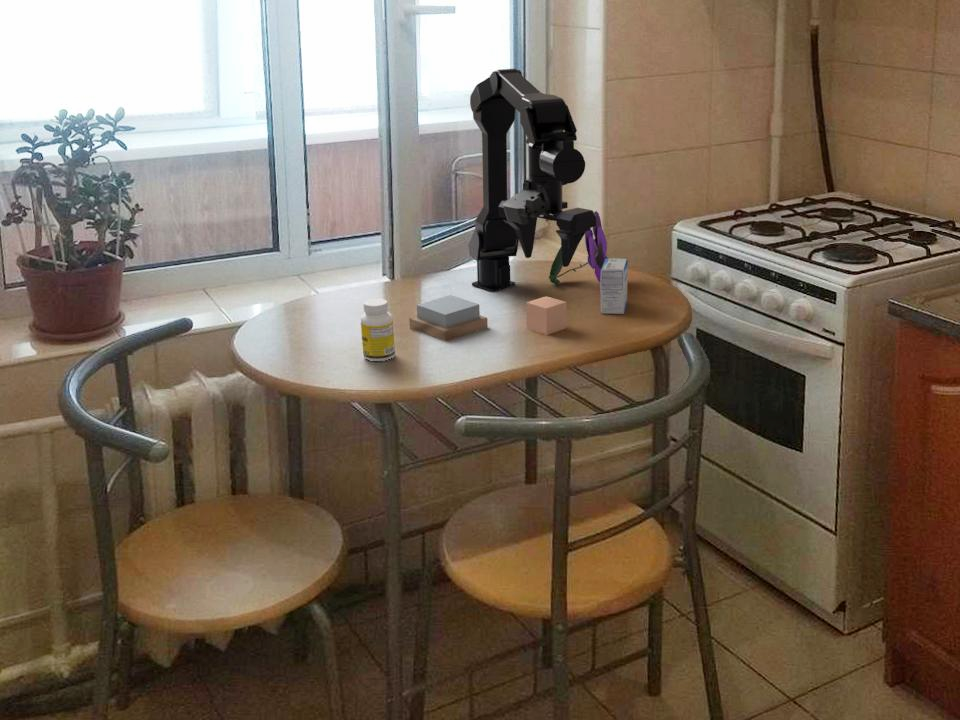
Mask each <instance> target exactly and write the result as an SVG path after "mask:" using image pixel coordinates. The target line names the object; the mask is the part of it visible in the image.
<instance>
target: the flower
mask: <svg viewBox="0 0 960 720" xmlns="http://www.w3.org/2000/svg"><path fill="white" fill-rule="evenodd" d="M593 212H594V213H595V214H596V226H595V227H592V228H591V229H590V230H589V231H586V232H585V234H584V239H585V240H584V241H585V242H584V243H585V246H586V247H585V249H586V252H587V255H588V256H587V262H585V263H583V264H581V263H579V266H578V267H574V268H569V269H568V270H566V271H565V272H563V273H561V274H560V272H561V271H562V268H563V264H562V251H561V247H560V248H559V250H558V252H557V254H556V255H555V257H554V260H553V262H552V264H551V266H550V272H549V275H548V280H549V281H550V283H551V284H554V285H557V286H558V285H559V284H560V283H561V281H560V280H559V279H558V278H560V277H562V276H563V275H566V274H567V273H569V272H571V271H574V272H577V269H581V268H583V267H585V266H586V265H587V264H588V265H589V266H590V267H591V268H592V270H594V274H595V277H596V279H597V281H598V282H599V283H600V284H601V270H602V267H603V264H604V262H605V259H609V258H608V256H607V251H608V241H607V238H606V237H607V236H606V235H605V232H604V230H603V226H602V221H601V217H600V214H599V212H598V211H597V210H596V211H593Z"/></svg>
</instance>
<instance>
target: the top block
mask: <svg viewBox="0 0 960 720" xmlns="http://www.w3.org/2000/svg"><path fill="white" fill-rule="evenodd" d="M480 313H481V312H480V304H479V303H477V302H473V301H470V300H467V299H465V298H461V297H458V296H455V295H453V294H450V295H446V296H443V297H442V296H441V297H438V298H436V299H431V300H429V301H425V302H422V303H418V304H416V316H417V318H419V319H422V320H425V321H427V322H430V323H433V324H436V325H438V326H441V327H444V328H448V327H451V326H454V325H457V324H461V323H464V322H467V321H470V320H473V319H477V318H480V315H481V314H480Z"/></svg>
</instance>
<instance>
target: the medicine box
mask: <svg viewBox="0 0 960 720" xmlns="http://www.w3.org/2000/svg"><path fill="white" fill-rule="evenodd" d="M628 262H629V261H628V258H619V257H617V258H615V257H614V258H612V257H611V258H608V259H605V262H604V264H603V267H602V270H601V283H600V314H604V315H605V314H607V315H624V314H625V312H626V309H627V308H626V307H627V304H628V271H629V270H628V268H629V267H628V266H629V263H628Z"/></svg>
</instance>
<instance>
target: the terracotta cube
mask: <svg viewBox="0 0 960 720" xmlns="http://www.w3.org/2000/svg"><path fill="white" fill-rule="evenodd" d="M525 306H526V308H525V309H526V311H525V312H526V329H527V330H531V331H533V332H536V333H540V334H543V335H546V336H548V335H551V334H553V333H557V332H560V331H561V330H565V329H567V302H566V301H564V300H560V299H557V298H553V297H550V296H547V295H546V296H542V297H539V298H537V299H533V300H530V301H527V302H526V304H525Z"/></svg>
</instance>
